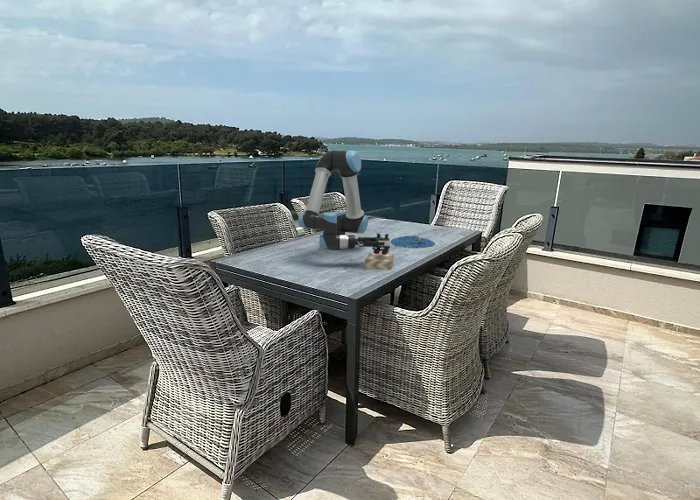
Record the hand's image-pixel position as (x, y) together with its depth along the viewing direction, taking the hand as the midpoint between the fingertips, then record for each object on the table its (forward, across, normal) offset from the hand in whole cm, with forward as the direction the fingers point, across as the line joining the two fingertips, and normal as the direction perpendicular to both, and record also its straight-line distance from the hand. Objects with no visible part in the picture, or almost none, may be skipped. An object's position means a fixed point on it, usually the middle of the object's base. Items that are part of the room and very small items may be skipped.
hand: (389, 242), depth 207 cm
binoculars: (-5, +2, -6) cm, 8 cm away
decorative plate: (+23, -51, -14) cm, 58 cm away
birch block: (-5, 0, -14) cm, 15 cm away
